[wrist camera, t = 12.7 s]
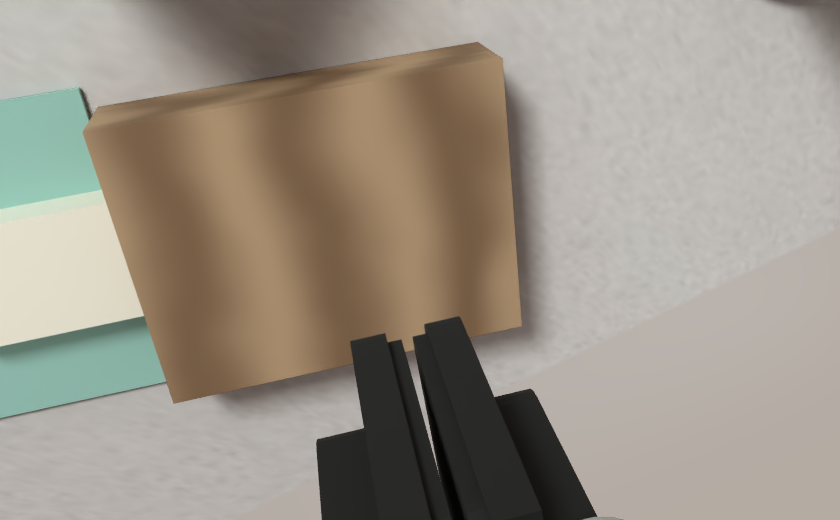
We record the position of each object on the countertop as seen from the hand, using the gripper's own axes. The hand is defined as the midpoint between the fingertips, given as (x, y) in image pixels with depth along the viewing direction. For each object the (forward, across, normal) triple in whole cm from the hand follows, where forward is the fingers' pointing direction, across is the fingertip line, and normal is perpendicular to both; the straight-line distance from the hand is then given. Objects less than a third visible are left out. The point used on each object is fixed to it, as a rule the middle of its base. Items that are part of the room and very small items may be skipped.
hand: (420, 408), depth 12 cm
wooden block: (+28, +2, +8) cm, 29 cm away
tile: (+27, +15, +7) cm, 32 cm away
